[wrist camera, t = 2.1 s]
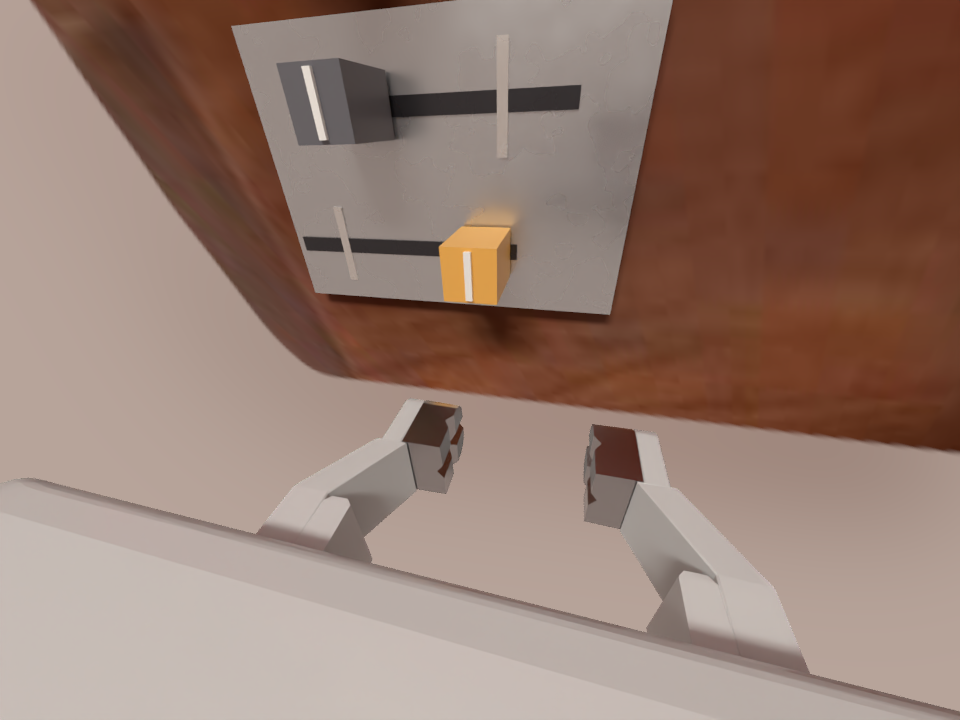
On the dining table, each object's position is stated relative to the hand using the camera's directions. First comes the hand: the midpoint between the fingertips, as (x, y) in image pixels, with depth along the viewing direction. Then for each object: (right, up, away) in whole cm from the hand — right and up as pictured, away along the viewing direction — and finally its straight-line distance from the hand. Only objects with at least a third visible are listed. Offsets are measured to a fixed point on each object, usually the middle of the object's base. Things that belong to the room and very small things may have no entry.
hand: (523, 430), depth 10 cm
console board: (-4, +14, +13) cm, 19 cm away
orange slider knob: (-1, +9, +13) cm, 16 cm away
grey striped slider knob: (-8, +16, +10) cm, 21 cm away
